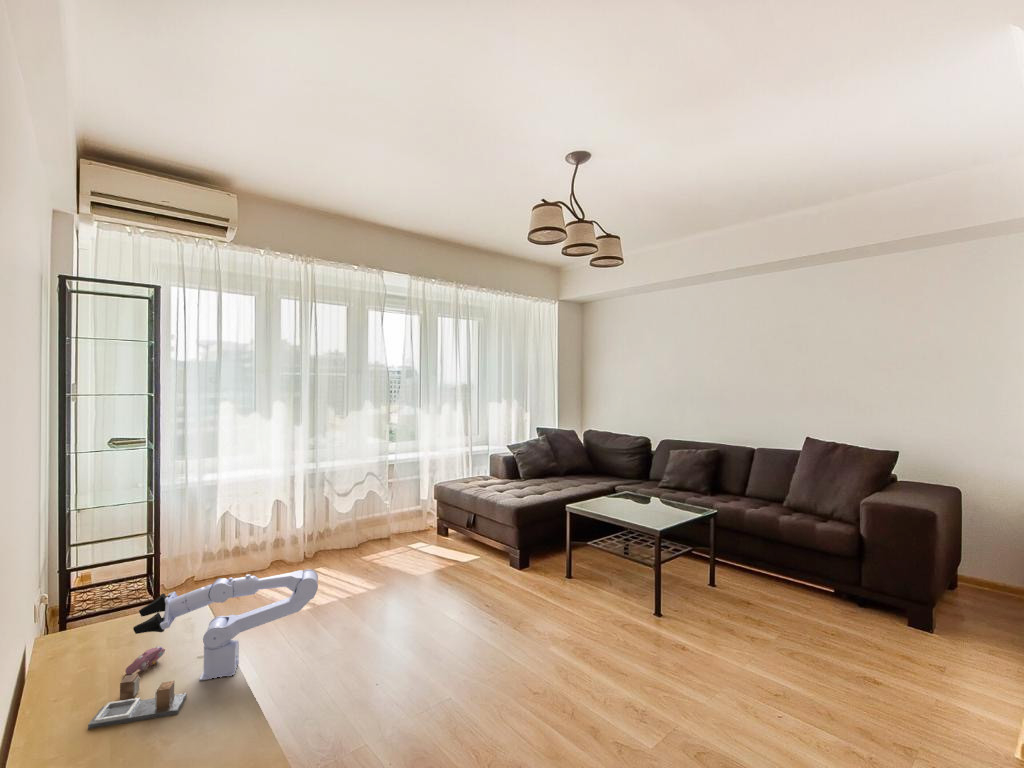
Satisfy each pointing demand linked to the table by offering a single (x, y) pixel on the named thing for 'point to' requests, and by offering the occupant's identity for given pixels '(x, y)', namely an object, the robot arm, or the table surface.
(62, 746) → the table surface
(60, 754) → the table surface
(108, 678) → the table surface
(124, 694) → the wooden block
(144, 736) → the table surface
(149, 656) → the video game controller
